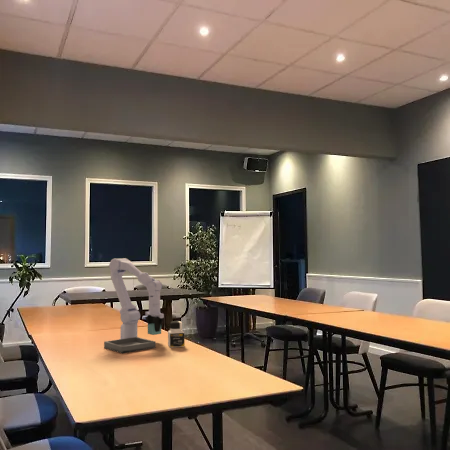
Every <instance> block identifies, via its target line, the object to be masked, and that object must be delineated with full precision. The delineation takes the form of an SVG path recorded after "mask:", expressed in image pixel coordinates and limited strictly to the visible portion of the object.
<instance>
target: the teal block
mask: <svg viewBox="0 0 450 450" xmlns="http://www.w3.org/2000/svg"><path fill="white" fill-rule="evenodd" d="M161 334H162V326H161V327H160V331H159V332H155V325H154V323H151V324H148V323H147V335H152V336H155V335H161Z"/></svg>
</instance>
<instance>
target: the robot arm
mask: <svg viewBox="0 0 450 450" xmlns="http://www.w3.org/2000/svg"><path fill="white" fill-rule="evenodd" d="M108 264H109V265H108V267H109V270H110V280H111V281H112V285H113V287H114V290H115V293H116V295H117V298H118V301H119V303H120V306H121V308H120V310H119V314H120V321H121V323H122V324H121V325H120V335H119V336H120V338H119V339H125V338H132V337H138V323H139V320H140V319H141V313H140V310H138V309H137V307H136V306H135V304H133V303H132V300H131V298H130V295H129V292H128V290H127V287H126V284H125V282H124V280H123V279H124V278H123V275H124V274H125V273H126V272H127V271H128V272H129V273H130V274H133V276H135V277H136V278H137V281H138V282H139V283H141V284H142V285H143V286H144V287H145V288H146V290H147V293H148V311H145V312H144V313H145V321H146V322H147V325H148V324H151V323H154V325H155V332H159V331H160V327H161V328H162V324H163V322H164V320H165V317H164V316H165V314H164V313H163V312H162V313H161V290H162V289H163V284H162V282H161V281H160V280H159V279H158V280H157V279H155V277H152V276H151V275H149V274H150V273H148V272H145V271H143V272H142V271H141V270H140V269H139V268H137V266H135V265H134V264H133V263H132V261H131V260H129V259H128V258H126V257H125V258H124V257H123V258H112V259H111V260H110V262H109V263H108Z"/></svg>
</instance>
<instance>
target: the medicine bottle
mask: <svg viewBox="0 0 450 450" xmlns="http://www.w3.org/2000/svg"><path fill="white" fill-rule="evenodd" d="M185 337H186V336H185V332H184V331H183V322H182V321H180V320H174V321H173V320H172V321H170V323H169V330H168V331H167V345H168V347H169V348H170V349H172V348H185V339H186V338H185Z"/></svg>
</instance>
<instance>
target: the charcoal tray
mask: <svg viewBox="0 0 450 450" xmlns="http://www.w3.org/2000/svg"><path fill="white" fill-rule="evenodd" d="M156 347H157V343H156V340H155V341H154V340H150V339H146V338H143V337H139V336H137V337H132V338H125V339H120V338H119V339H114V340H113V339H112V340H111V339H110V340H104V341H103V348H104V349H106V350H110V351H113V352H117V353H119V354H128V353H134V352H140V351H146V350H152V349H157V348H156Z"/></svg>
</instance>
